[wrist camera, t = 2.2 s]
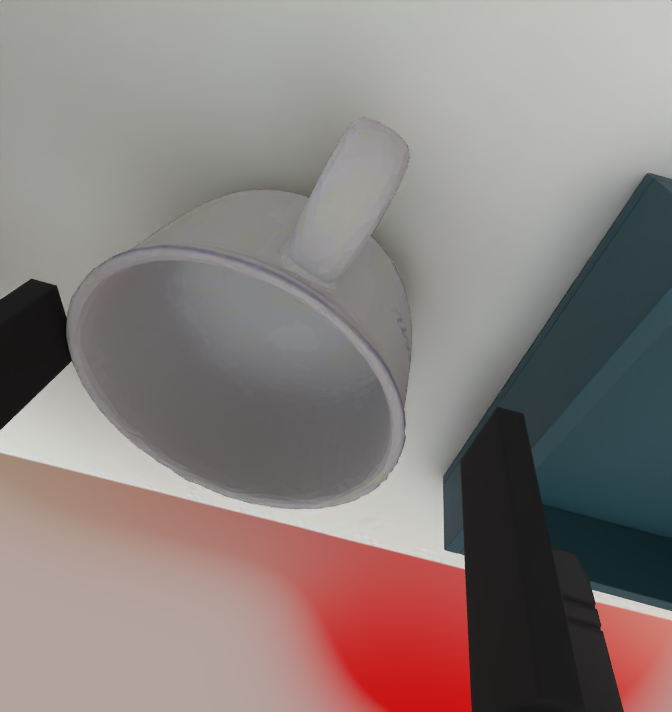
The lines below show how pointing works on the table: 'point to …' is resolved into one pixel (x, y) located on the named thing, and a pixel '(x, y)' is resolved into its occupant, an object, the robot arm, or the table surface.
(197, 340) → the teacup
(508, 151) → the table surface
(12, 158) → the table surface
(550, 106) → the table surface
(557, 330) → the tray
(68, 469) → the table surface
